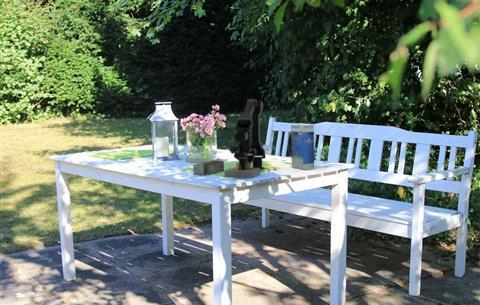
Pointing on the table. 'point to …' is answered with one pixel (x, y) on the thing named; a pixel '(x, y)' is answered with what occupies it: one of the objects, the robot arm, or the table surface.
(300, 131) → the string lights box
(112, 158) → the table surface
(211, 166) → the beverage carton
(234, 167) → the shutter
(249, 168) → the plug
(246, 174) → the socket block
